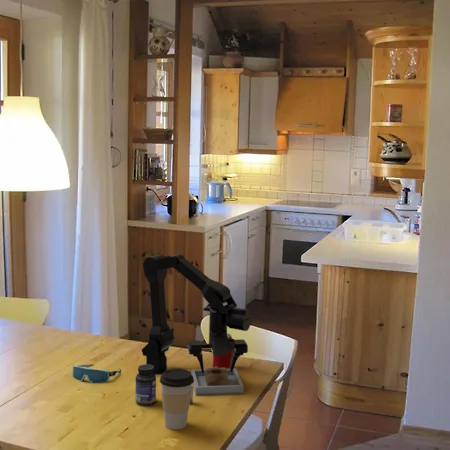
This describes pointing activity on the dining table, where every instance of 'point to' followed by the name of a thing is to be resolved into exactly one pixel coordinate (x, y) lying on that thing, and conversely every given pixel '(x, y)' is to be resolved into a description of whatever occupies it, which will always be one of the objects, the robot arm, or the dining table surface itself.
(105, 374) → the sunglasses
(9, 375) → the dining table surface
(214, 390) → the tray
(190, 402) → the metal cylinder
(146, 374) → the pill bottle
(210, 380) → the wooden frame block
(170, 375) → the coffee cup
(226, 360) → the beverage can
